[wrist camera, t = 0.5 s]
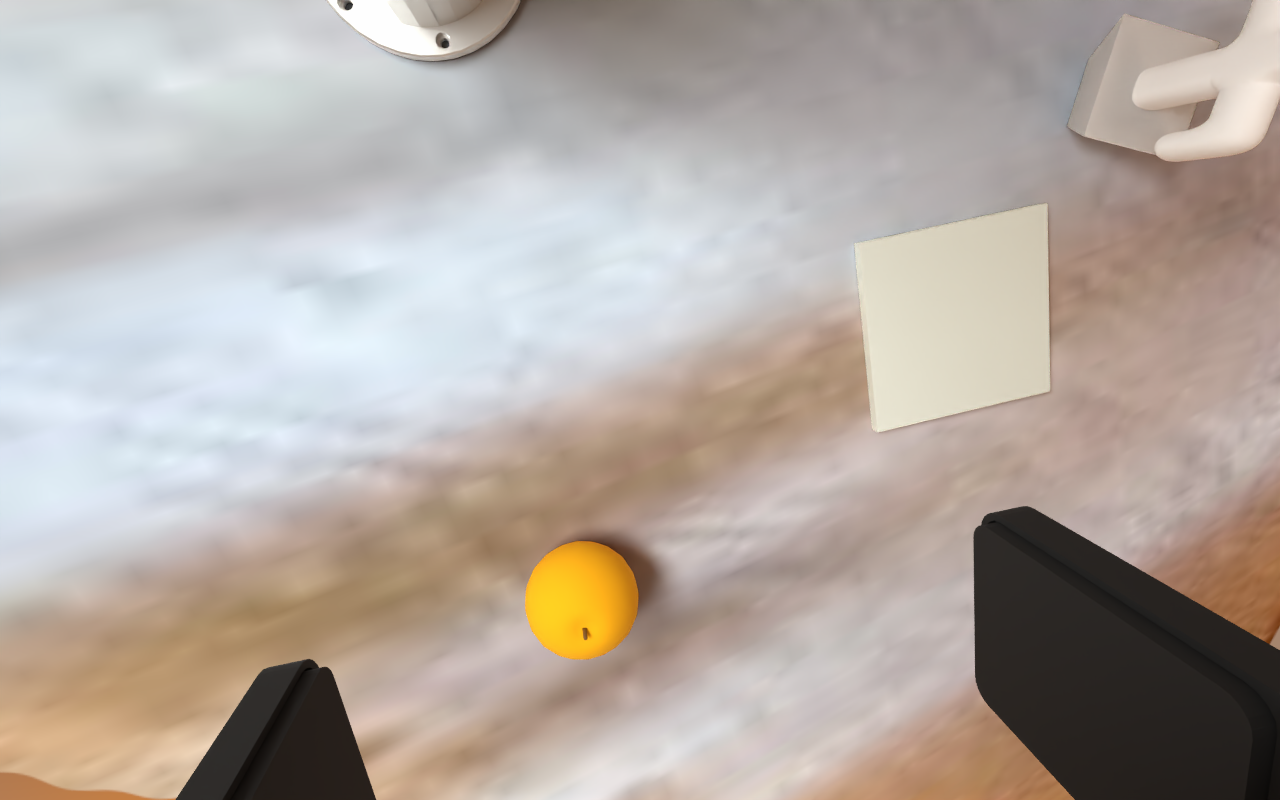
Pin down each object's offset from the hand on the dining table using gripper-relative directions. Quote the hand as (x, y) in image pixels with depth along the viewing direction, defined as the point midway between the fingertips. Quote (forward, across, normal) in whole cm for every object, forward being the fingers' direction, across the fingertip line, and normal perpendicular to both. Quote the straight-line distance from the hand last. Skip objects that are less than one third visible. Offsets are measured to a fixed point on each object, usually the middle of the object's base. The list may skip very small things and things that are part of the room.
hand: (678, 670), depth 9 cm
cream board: (+36, -27, +4) cm, 45 cm away
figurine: (+36, -39, -9) cm, 54 cm away
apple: (+36, +3, +19) cm, 41 cm away
